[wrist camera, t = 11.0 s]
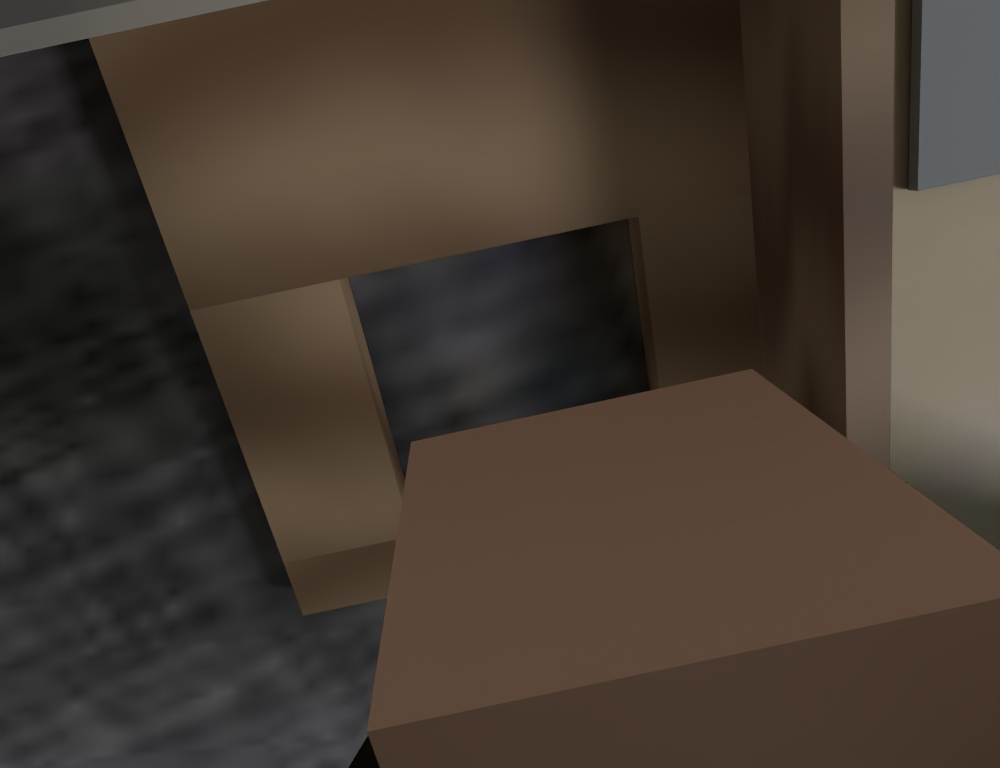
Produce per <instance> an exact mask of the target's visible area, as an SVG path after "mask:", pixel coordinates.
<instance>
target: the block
mask: <svg viewBox="0 0 1000 768" xmlns="http://www.w3.org/2000/svg"><path fill="white" fill-rule="evenodd" d="M367 734H368V736H369V739H370V742H371V745H372V747H373V750H374V753H375V756H376V758H377V761H378V764H379V766H380V768H1000V551H999V550H998V549H997V548H995V547H994V546H993V545H991V544H990V543H989V542H987V541H986V540H985V539H983V538H982V537H980V536H979V535H978V534H976V533H975V532H974V531H972V530H971V529H970V528H968V527H967V526H965V525H964V524H963V523H961V522H960V521H959V520H957V519H956V518H955V517H953V516H952V515H950V514H949V513H948V512H946V511H945V510H944V509H942V508H941V507H940V506H938V505H937V504H935V503H934V502H933V501H931V500H930V499H929V498H927V497H926V496H925V495H923V494H922V493H920V492H919V491H918V490H916V489H915V488H914V487H912V486H911V485H910V484H908V483H907V482H905V481H904V480H903V479H901V478H900V477H899V476H897V475H896V474H895V473H893V472H892V471H890V470H889V469H888V468H886V467H885V466H884V465H882V464H881V463H880V462H878V461H877V460H875V459H874V458H873V457H871V456H870V455H869V454H867V453H866V452H865V451H863V450H862V449H860V448H859V447H858V446H856V445H855V444H854V443H852V442H851V441H850V440H848V439H847V438H845V437H844V436H843V435H841V434H840V433H839V432H837V431H836V430H835V429H833V428H832V427H830V426H829V425H828V424H826V423H825V422H824V421H822V420H821V419H820V418H818V417H817V416H816V415H814V414H813V413H811V412H810V411H809V410H807V409H806V408H805V407H803V406H802V405H801V404H799V403H798V402H796V401H795V400H794V399H792V398H791V397H790V396H788V395H787V394H786V393H784V392H783V391H781V390H780V389H779V388H777V387H776V386H775V385H773V384H772V383H771V382H769V381H768V380H766V379H765V378H764V377H762V376H761V375H760V374H758V373H757V372H756V371H754V370H753V369H749V370H744V371H739V372H735V373H730V374H725V375H721V376H716V377H711V378H707V379H702V380H697V381H693V382H688V383H683V384H679V385H674V386H669V387H665V388H660V389H655V390H651V391H646V392H641V393H637V394H632V395H627V396H623V397H618V398H614V399H609V400H604V401H600V402H595V403H590V404H586V405H581V406H576V407H572V408H567V409H562V410H558V411H553V412H548V413H544V414H539V415H534V416H530V417H525V418H520V419H516V420H511V421H506V422H502V423H497V424H492V425H488V426H483V427H478V428H474V429H469V430H464V431H460V432H455V433H450V434H446V435H441V436H436V437H432V438H427V439H422V440H418V441H413V442H411V446H410V453H409V459H408V466H407V472H406V479H405V485H404V492H403V498H402V505H401V511H400V518H399V525H398V531H397V538H396V544H395V551H394V557H393V564H392V570H391V577H390V583H389V590H388V596H387V603H386V610H385V616H384V623H383V629H382V636H381V642H380V649H379V655H378V662H377V668H376V675H375V681H374V688H373V695H372V701H371V708H370V714H369V721H368V727H367Z"/></svg>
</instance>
